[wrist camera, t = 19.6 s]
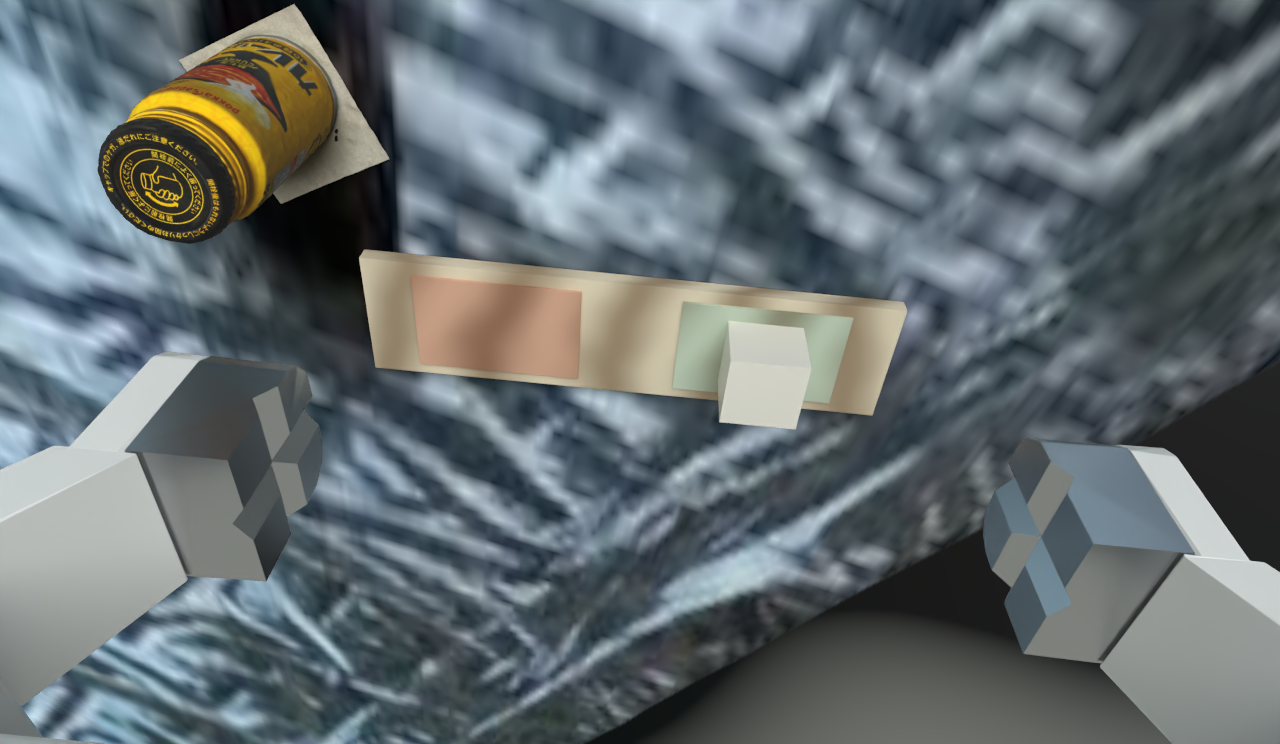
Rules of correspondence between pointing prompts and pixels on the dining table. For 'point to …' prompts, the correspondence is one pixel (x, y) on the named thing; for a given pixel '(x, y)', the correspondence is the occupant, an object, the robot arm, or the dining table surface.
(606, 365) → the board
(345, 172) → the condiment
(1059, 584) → the robot arm
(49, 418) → the dining table surface
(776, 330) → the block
